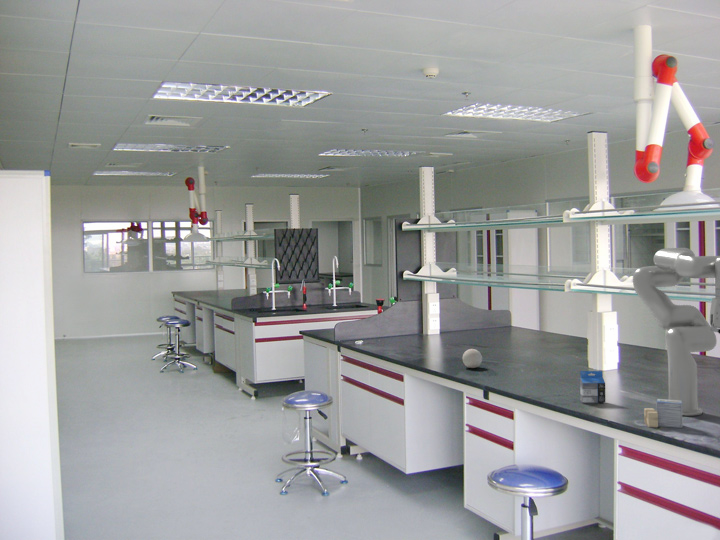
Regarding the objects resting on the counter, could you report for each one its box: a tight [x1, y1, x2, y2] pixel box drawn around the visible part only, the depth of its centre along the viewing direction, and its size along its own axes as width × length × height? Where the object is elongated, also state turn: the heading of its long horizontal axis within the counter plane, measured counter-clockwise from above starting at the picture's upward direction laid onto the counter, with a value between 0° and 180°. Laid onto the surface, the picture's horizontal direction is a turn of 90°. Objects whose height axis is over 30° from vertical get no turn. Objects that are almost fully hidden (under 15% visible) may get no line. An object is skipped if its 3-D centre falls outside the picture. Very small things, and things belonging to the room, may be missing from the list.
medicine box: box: [656, 398, 683, 429], centre depth 221 cm, size 8×4×9 cm, turn 64°
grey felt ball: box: [462, 348, 483, 369], centre depth 335 cm, size 10×10×10 cm
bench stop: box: [643, 407, 659, 428], centre depth 222 cm, size 6×3×5 cm, turn 169°
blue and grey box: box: [579, 370, 606, 404], centre depth 255 cm, size 9×4×12 cm, turn 84°
